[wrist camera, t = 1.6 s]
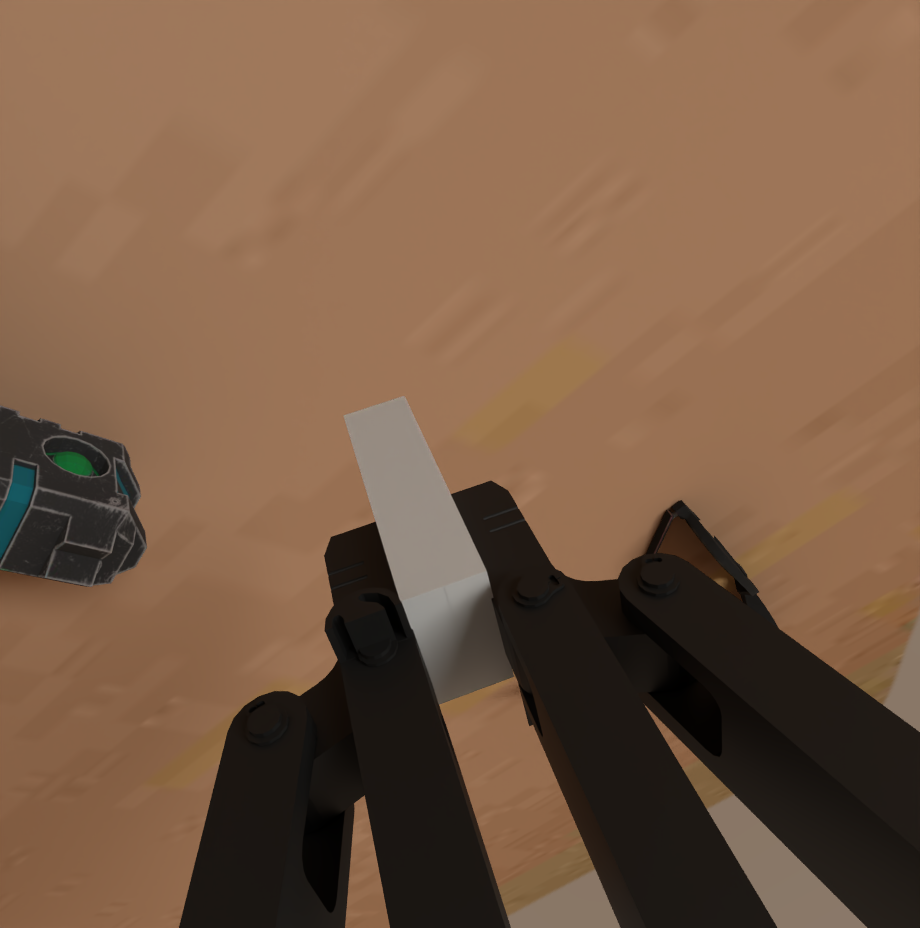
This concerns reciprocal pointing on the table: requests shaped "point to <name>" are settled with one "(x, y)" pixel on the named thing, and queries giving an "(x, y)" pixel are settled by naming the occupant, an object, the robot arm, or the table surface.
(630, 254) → the table surface
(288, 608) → the table surface
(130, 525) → the toy gun
